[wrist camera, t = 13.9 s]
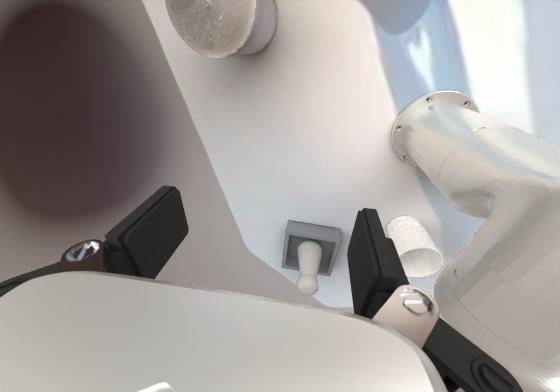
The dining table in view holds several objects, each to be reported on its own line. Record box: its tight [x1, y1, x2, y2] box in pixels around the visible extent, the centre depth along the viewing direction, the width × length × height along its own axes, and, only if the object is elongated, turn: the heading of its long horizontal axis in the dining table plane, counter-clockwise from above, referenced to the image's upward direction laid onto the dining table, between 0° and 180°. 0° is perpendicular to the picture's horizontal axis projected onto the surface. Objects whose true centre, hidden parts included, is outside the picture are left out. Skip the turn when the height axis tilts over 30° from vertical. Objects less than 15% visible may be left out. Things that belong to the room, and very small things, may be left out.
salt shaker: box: [297, 238, 322, 295], centre depth 50 cm, size 6×6×13 cm
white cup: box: [387, 216, 444, 278], centre depth 46 cm, size 8×8×10 cm
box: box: [282, 220, 341, 276], centre depth 55 cm, size 12×12×4 cm
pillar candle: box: [165, 0, 277, 59], centre depth 28 cm, size 10×10×15 cm
